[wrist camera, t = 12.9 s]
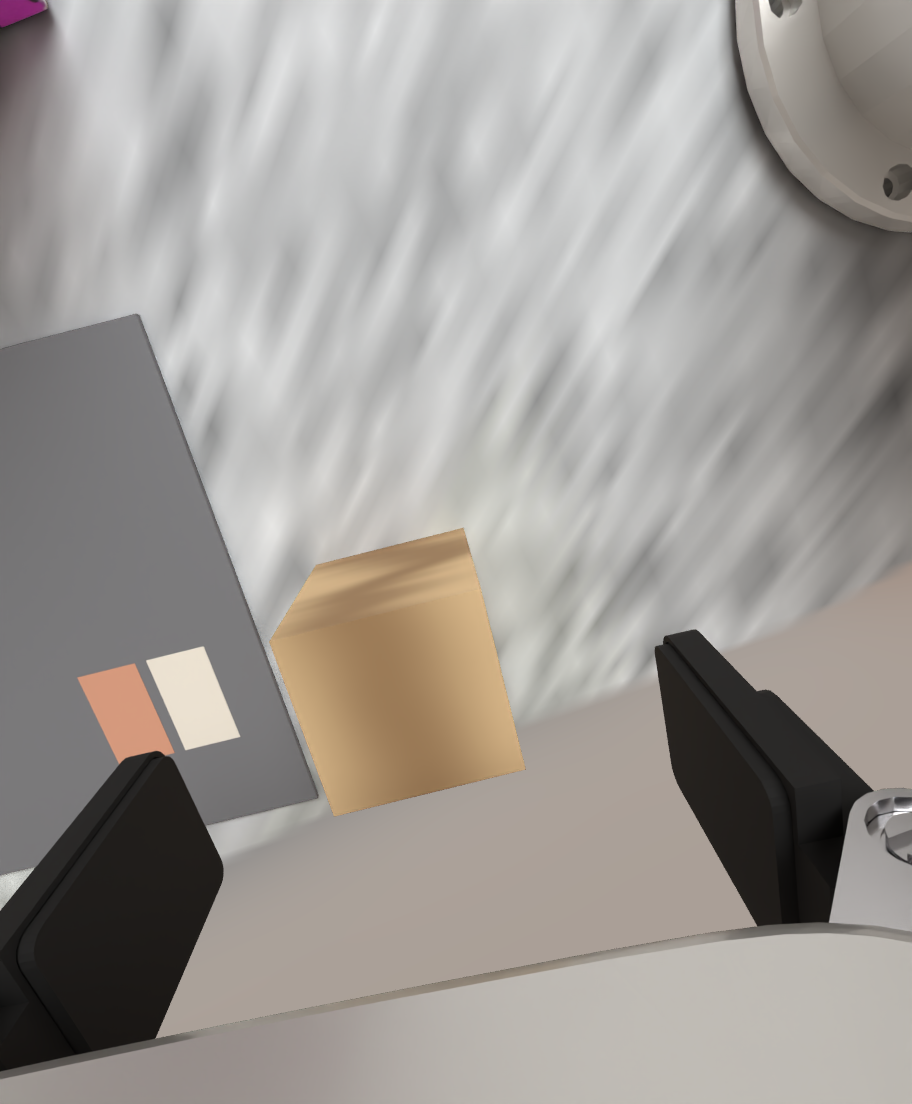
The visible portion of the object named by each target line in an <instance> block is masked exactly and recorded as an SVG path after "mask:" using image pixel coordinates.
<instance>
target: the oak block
mask: <svg viewBox="0 0 912 1104" xmlns="http://www.w3.org/2000/svg"><path fill="white" fill-rule="evenodd" d="M269 643H270V645H271V648H272V651H273V653H274V656H275V659H276V661H277V664H278V667H279V669H280V672H281V675H282V678H283V680H284V683H285V686H286V688H287V691H288V694H289V696H290V699H291V702H292V704H293V707H294V710H295V713H296V715H297V718H298V721H299V723H300V726H301V729H302V731H303V734H304V737H305V739H306V742H307V745H308V747H309V750H310V753H311V756H312V758H313V761H314V764H315V766H316V769H317V772H318V774H319V777H320V780H321V782H322V785H323V788H324V791H325V793H326V796H327V799H328V801H329V804H330V807H331V809H332V812H333V815H334V816H338V815H342V814H346V813H351V812H355V811H358V810H363V809H367V808H371V807H375V806H379V805H383V804H387V803H391V802H395V801H399V800H403V799H408V798H411V797H416V796H420V795H424V794H428V793H432V792H436V791H440V790H444V789H448V788H452V787H456V786H460V785H465V784H468V783H472V782H477V781H481V780H485V779H489V778H493V777H497V776H501V775H505V774H509V773H513V772H517V771H521V770H525V765H524V761H523V757H522V753H521V749H520V745H519V741H518V737H517V733H516V729H515V725H514V721H513V717H512V713H511V709H510V704H509V700H508V696H507V692H506V688H505V684H504V680H503V676H502V672H501V668H500V664H499V660H498V656H497V652H496V648H495V644H494V640H493V636H492V632H491V628H490V624H489V620H488V616H487V612H486V608H485V604H484V600H483V596H482V592H481V588H480V584H479V581H478V577H477V574H476V570H475V567H474V563H473V560H472V556H471V553H470V550H469V546H468V543H467V539H466V536H465V532H464V529H463V528H461V529H457V530H453V531H449V532H445V533H441V534H437V535H433V536H429V537H425V538H421V539H417V540H413V541H409V542H406V543H402V544H398V545H394V546H390V547H386V548H382V549H378V550H374V551H370V552H366V553H362V554H358V555H354V556H350V557H346V558H342V559H338V560H334V561H330V562H326V563H322V564H318V565H316V566H315V568H314V569H313V571H312V572H311V574H310V576H309V577H308V579H307V581H306V582H305V584H304V586H303V587H302V589H301V591H300V592H299V594H298V595H297V597H296V599H295V600H294V602H293V604H292V605H291V607H290V609H289V610H288V612H287V613H286V615H285V617H284V618H283V620H282V622H281V623H280V625H279V627H278V628H277V630H276V632H275V633H274V635H273V636H272V638H271V640H270V641H269Z"/></svg>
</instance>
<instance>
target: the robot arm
mask: <svg viewBox="0 0 912 1104" xmlns="http://www.w3.org/2000/svg"><path fill="white" fill-rule="evenodd" d="M735 7H736V29H737V43H738V48H739V52H740V57H741V62H742V67H743V71H744V76H745V81H746V86H747V90H748V93H749V95H750V98H751V100H752V103H753V105H754V108H755V110H756V113H757V115H758V118H759V120H760V122H761V125H762V127H763V130H764V132H765V135H766V136H767V138H768V139H769V141H770V142H771V144H772V145H773V147H774V148H775V150H776V151H777V153H778V154H779V156H780V157H781V159H782V160H783V162H784V163H785V165H786V166H787V168H788V170H789V171H790V172H791V173H792V174H793V175H794V176H795V177H796V178H797V179H798V180H799V181H800V182H801V183H802V184H803V185H804V186H805V187H806V188H808V189H809V190H810V191H811V192H812V193H813V194H814V195H815V196H816V197H817V198H818V199H819V200H821V201H822V202H824V203H826V204H827V205H829V206H831V207H832V208H834V209H836V210H837V211H839V212H841V213H842V214H844V215H846V216H847V217H849V218H851V219H852V220H856V221H859V222H862V223H865V224H868V225H872V226H875V227H878V228H881V229H884V230H888V231H897V232H912V0H735ZM655 657H656V664H657V671H658V678H659V684H660V691H661V698H662V704H663V711H664V717H665V724H666V731H667V738H668V745H669V751H670V758H671V764H672V769H673V773H674V776H675V779H676V781H677V784H678V786H679V788H680V789H681V791H682V793H683V795H684V797H685V798H686V800H687V802H688V804H689V805H690V807H691V809H692V811H693V812H694V814H695V816H696V818H697V820H698V821H699V823H700V825H701V827H702V829H703V830H704V832H705V834H706V836H707V837H708V839H709V841H710V843H711V844H712V846H713V848H714V850H715V852H716V853H717V855H718V857H719V858H720V860H721V862H722V864H723V866H724V868H725V869H726V871H727V873H728V875H729V876H730V878H731V880H732V882H733V884H734V885H735V887H736V889H737V891H738V892H739V894H740V896H741V898H742V899H743V901H744V903H745V905H746V907H747V908H748V910H749V912H750V914H751V915H752V917H753V919H754V921H755V923H756V924H757V927H750V928H743V929H735V930H727V931H720V932H719V931H718V932H711V933H705V934H699V935H693V936H687V937H681V938H675V939H670V940H664V941H659V942H653V943H646V944H641V945H636V946H629V947H623V948H618V949H612V950H606V951H600V952H595V953H590V954H584V955H579V956H574V957H569V958H563V959H558V960H553V961H548V962H542V963H537V964H532V965H527V966H522V967H516V968H511V969H506V970H501V971H495V972H490V973H485V974H480V975H474V976H469V977H465V978H459V979H453V980H448V981H443V982H438V983H432V984H428V985H422V986H417V987H412V988H407V989H402V990H397V991H392V992H387V993H381V994H376V995H371V996H366V997H361V998H356V999H351V1000H346V1001H341V1002H336V1003H331V1004H326V1005H321V1006H316V1007H311V1008H305V1009H301V1010H296V1011H291V1012H286V1013H280V1014H276V1015H271V1016H265V1017H260V1018H255V1019H250V1020H245V1021H240V1022H235V1023H230V1024H225V1025H220V1026H216V1027H211V1028H206V1029H201V1030H196V1031H191V1032H186V1033H181V1034H176V1035H171V1036H166V1037H162V1038H157V1039H155V1038H156V1036H157V1034H158V1031H159V1029H160V1026H161V1024H162V1022H163V1019H164V1017H165V1015H166V1012H167V1010H168V1008H169V1005H170V1003H171V1001H172V998H173V996H174V994H175V991H176V989H177V987H178V984H179V982H180V980H181V977H182V975H183V973H184V970H185V968H186V966H187V963H188V961H189V958H190V956H191V954H192V952H193V949H194V947H195V945H196V942H197V940H198V937H199V935H200V933H201V931H202V928H203V926H204V923H205V921H206V919H207V916H208V914H209V912H210V909H211V907H212V905H213V902H214V900H215V897H216V895H217V893H218V891H219V888H220V886H221V883H222V880H223V863H222V860H221V858H220V856H219V854H218V852H217V850H216V848H215V846H214V843H213V841H212V839H211V837H210V835H209V833H208V831H207V829H206V827H205V824H204V822H203V820H202V818H201V816H200V814H199V812H198V810H197V808H196V806H195V803H194V801H193V799H192V797H191V795H190V793H189V791H188V789H187V787H186V784H185V782H184V780H183V778H182V776H181V774H180V772H179V770H178V768H177V766H176V763H175V762H174V760H173V759H172V758H171V757H169V756H165V755H164V754H163V753H162V752H160V751H153V752H148V753H144V754H139V755H135V756H130V757H127V758H125V759H124V760H123V761H122V762H121V763H120V764H119V765H118V767H117V768H116V769H115V770H114V772H113V773H112V774H111V775H110V776H109V778H108V779H107V780H106V781H105V783H104V784H103V785H102V786H101V788H100V789H99V790H98V791H97V792H96V794H95V795H94V796H93V797H92V799H91V800H90V801H89V802H88V804H87V805H86V806H85V807H84V809H83V810H82V811H81V812H80V813H79V815H78V816H77V817H76V818H75V820H74V821H73V822H72V823H71V825H70V826H69V827H68V828H67V829H66V831H65V832H64V833H63V834H62V836H61V837H60V838H59V839H58V841H57V842H56V843H55V844H54V845H53V847H52V848H51V849H50V850H49V852H48V853H47V854H46V855H45V857H44V858H43V859H42V860H41V861H40V863H39V864H38V865H37V866H36V868H35V869H34V870H33V871H32V873H31V874H30V875H29V876H28V877H27V879H26V880H25V881H24V882H23V884H22V885H21V886H20V887H19V889H18V890H17V891H16V892H15V893H14V895H13V896H12V897H11V898H10V900H9V901H8V902H7V903H6V905H5V906H4V907H3V908H2V909H1V911H0V1104H912V789H906V788H890V789H880V790H877V791H873V790H872V789H871V788H870V787H869V786H868V785H867V784H866V783H865V782H864V781H863V780H862V779H861V778H860V777H859V776H858V775H857V774H856V773H855V772H854V771H853V770H852V769H851V768H850V767H849V766H848V765H847V764H846V763H845V762H844V761H843V760H842V759H841V758H840V757H839V756H838V755H837V754H836V753H835V752H834V751H833V750H832V749H831V748H830V747H829V746H828V745H827V744H825V743H824V741H823V740H821V738H820V737H818V736H817V735H816V734H815V733H814V732H813V731H812V730H811V729H810V728H809V727H808V726H807V725H806V724H805V723H804V722H803V721H802V720H801V719H800V718H799V717H798V716H797V715H796V714H795V713H794V712H793V711H792V710H791V709H790V708H789V707H788V706H787V705H786V704H785V703H784V702H783V701H782V700H781V699H780V698H779V697H778V696H777V695H775V694H774V693H773V692H771V691H769V690H762V691H756V690H755V689H754V688H753V687H752V686H751V685H750V684H749V683H748V682H747V681H746V680H745V679H744V678H743V677H742V676H741V675H740V674H739V673H738V672H737V671H736V670H735V669H734V667H733V666H732V665H731V664H730V663H729V662H728V661H727V660H726V659H725V658H724V657H723V656H722V655H721V654H720V653H719V652H718V651H717V650H716V649H715V648H714V647H713V646H712V645H711V644H710V643H709V642H708V641H707V640H706V639H705V637H704V636H703V635H702V634H701V633H700V632H699V631H697V630H690V631H685V632H681V633H676V634H672V635H668V636H665V637H664V639H663V645H659V646H656V647H655Z"/></svg>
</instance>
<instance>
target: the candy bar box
mask: <svg viewBox="0 0 912 1104" xmlns="http://www.w3.org/2000/svg"><path fill="white" fill-rule="evenodd" d="M47 8H48V3H47V1H46V0H0V28H2V27H5V26H7V25H10V24H12V23H15V22H18V21H20V20H23V19H25V18H27V17H30V16H32V15H35V14H37V13H39V12H42V11H44V10H46V9H47Z"/></svg>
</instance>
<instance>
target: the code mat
mask: <svg viewBox="0 0 912 1104" xmlns="http://www.w3.org/2000/svg"><path fill="white" fill-rule="evenodd" d="M153 751H160V752H162V753H163V754H164V755H165V756H169V757H171V758H172V759H173V760H174V762H175V763H176V766H177V768H178V770H179V772H180V774H181V776H182V778H183V780H184V782H185V784H186V787H187V789H188V791H189V793H190V795H191V797H192V799H193V801H194V803H195V806H196V808H197V810H198V812H199V814H200V816H201V818H202V820H203V822H204V824H205V825H209V824H213V823H217V822H221V821H225V820H230V819H234V818H238V817H242V816H246V815H250V814H254V813H258V812H263V811H267V810H271V809H275V808H279V807H283V806H287V805H291V804H296V803H300V802H304V801H308V800H312V799H316V798H318V792H317V790H316V787H315V784H314V782H313V779H312V776H311V774H310V771H309V768H308V766H307V763H306V760H305V758H304V755H303V752H302V750H301V747H300V744H299V742H298V739H297V736H296V734H295V731H294V728H293V725H292V723H291V720H290V717H289V715H288V712H287V709H286V707H285V704H284V701H283V699H282V696H281V693H280V691H279V688H278V685H277V683H276V680H275V677H274V675H273V672H272V669H271V667H270V664H269V661H268V659H267V656H266V653H265V651H264V648H263V645H262V643H261V640H260V637H259V634H258V632H257V629H256V626H255V624H254V621H253V618H252V616H251V613H250V610H249V608H248V605H247V602H246V600H245V597H244V594H243V592H242V589H241V586H240V584H239V581H238V578H237V576H236V573H235V570H234V568H233V565H232V562H231V560H230V557H229V554H228V552H227V549H226V546H225V543H224V541H223V538H222V535H221V533H220V530H219V527H218V525H217V522H216V519H215V517H214V514H213V511H212V509H211V506H210V503H209V501H208V498H207V495H206V493H205V490H204V487H203V485H202V482H201V479H200V477H199V474H198V471H197V469H196V466H195V463H194V461H193V458H192V455H191V452H190V450H189V447H188V444H187V442H186V439H185V436H184V434H183V431H182V428H181V426H180V423H179V420H178V418H177V415H176V412H175V410H174V407H173V404H172V402H171V399H170V396H169V394H168V391H167V388H166V386H165V383H164V380H163V378H162V375H161V372H160V370H159V367H158V364H157V361H156V359H155V356H154V353H153V351H152V348H151V345H150V343H149V340H148V337H147V335H146V332H145V329H144V327H143V324H142V321H141V319H140V316H139V315H138V314H133V315H130V316H126V317H122V318H118V319H114V320H110V321H106V322H102V323H99V324H95V325H91V326H87V327H83V328H79V329H75V330H72V331H68V332H64V333H60V334H56V335H52V336H48V337H44V338H41V339H37V340H33V341H29V342H25V343H21V344H17V345H14V346H10V347H6V348H2V349H0V875H3V874H7V873H11V872H15V871H19V870H23V869H27V868H32V867H36V866H37V865H38V864H39V863H40V861H41V860H42V859H43V858H44V857H45V855H46V854H47V853H48V852H49V850H50V849H51V848H52V847H53V845H54V844H55V843H56V842H57V841H58V839H59V838H60V837H61V836H62V834H63V833H64V832H65V831H66V829H67V828H68V827H69V826H70V825H71V823H72V822H73V821H74V820H75V818H76V817H77V816H78V815H79V813H80V812H81V811H82V810H83V809H84V807H85V806H86V805H87V804H88V802H89V801H90V800H91V799H92V797H93V796H94V795H95V794H96V792H97V791H98V790H99V789H100V788H101V786H102V785H103V784H104V783H105V781H106V780H107V779H108V778H109V776H110V775H111V774H112V773H113V772H114V770H115V769H116V768H117V767H118V765H119V764H120V763H121V762H122V761H123V760H124V759H125V758H127V757H130V756H135V755H139V754H144V753H148V752H153Z"/></svg>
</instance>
